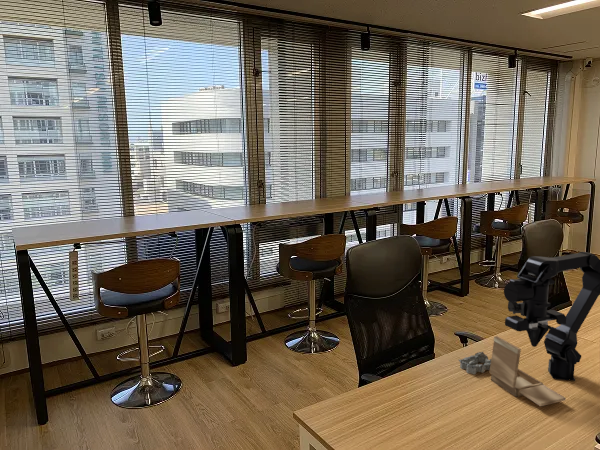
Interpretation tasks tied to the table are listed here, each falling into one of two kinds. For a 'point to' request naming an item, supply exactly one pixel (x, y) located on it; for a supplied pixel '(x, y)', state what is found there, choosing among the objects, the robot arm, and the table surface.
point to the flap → (505, 361)
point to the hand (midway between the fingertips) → (533, 346)
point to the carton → (530, 389)
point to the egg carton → (475, 363)
